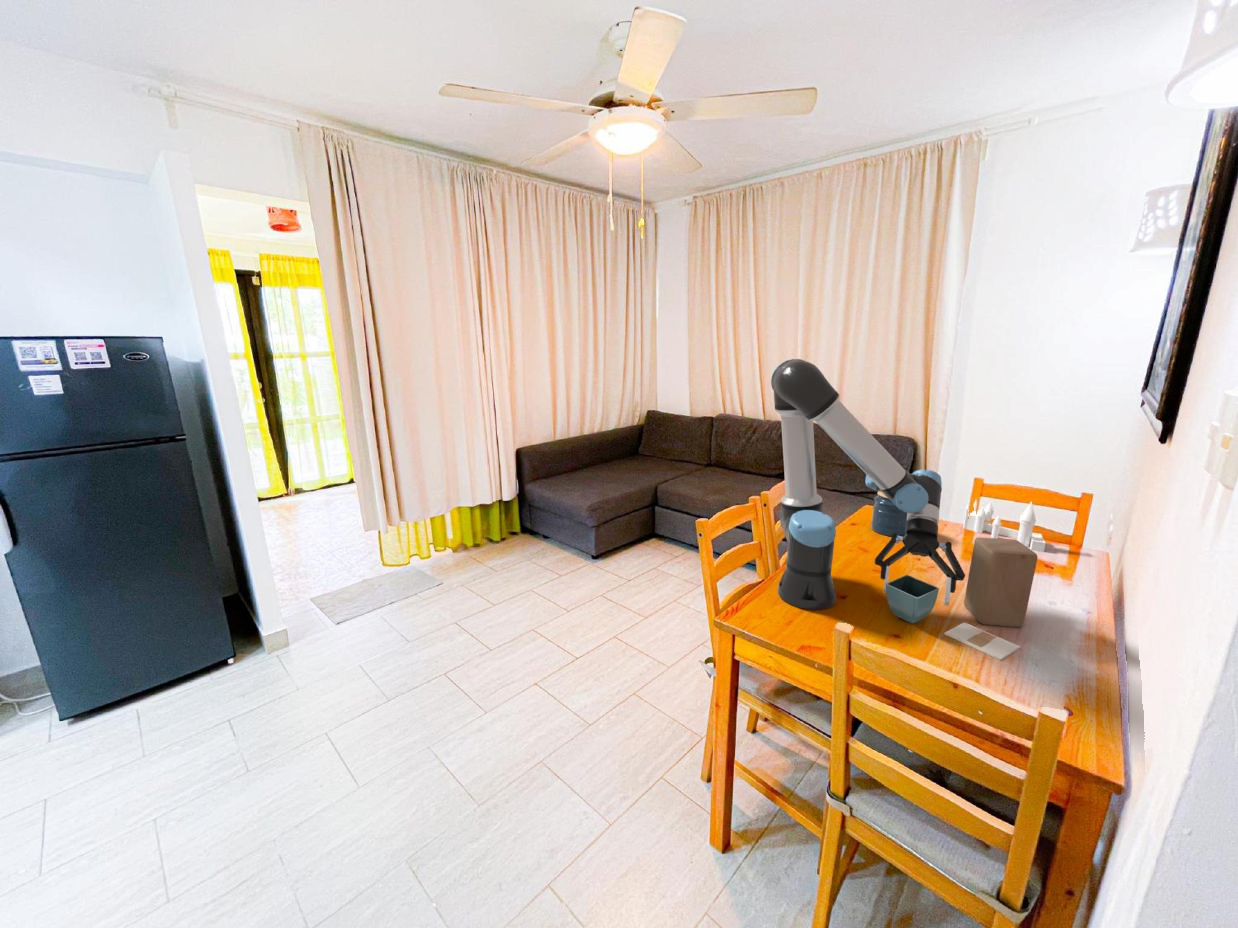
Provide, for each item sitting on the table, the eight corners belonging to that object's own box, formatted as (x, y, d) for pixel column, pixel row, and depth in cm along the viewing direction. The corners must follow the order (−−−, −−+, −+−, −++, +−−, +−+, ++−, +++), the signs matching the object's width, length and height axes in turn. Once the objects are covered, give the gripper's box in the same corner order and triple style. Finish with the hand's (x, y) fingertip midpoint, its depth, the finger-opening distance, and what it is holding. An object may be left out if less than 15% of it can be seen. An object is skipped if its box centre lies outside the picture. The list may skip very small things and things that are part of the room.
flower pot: (881, 613, 132) (884, 583, 130) (903, 603, 136) (907, 573, 133) (913, 630, 125) (917, 598, 122) (936, 619, 128) (940, 588, 126)
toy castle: (1042, 553, 168) (1052, 507, 164) (957, 531, 187) (964, 489, 183) (1054, 542, 176) (1063, 498, 172) (971, 522, 195) (978, 482, 191)
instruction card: (944, 634, 123) (944, 632, 123) (963, 623, 127) (964, 621, 127) (1000, 660, 113) (1000, 658, 113) (1019, 647, 117) (1020, 645, 117)
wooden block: (1024, 629, 124) (1040, 554, 120) (979, 625, 126) (993, 551, 122) (1003, 608, 134) (1017, 538, 129) (961, 605, 136) (973, 535, 131)
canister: (879, 522, 197) (885, 478, 192) (915, 531, 187) (922, 485, 183) (864, 530, 189) (869, 485, 184) (901, 540, 179) (907, 492, 175)
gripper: (974, 537, 135) (971, 613, 126) (870, 521, 146) (861, 590, 137) (980, 524, 129) (977, 604, 120) (871, 509, 141) (861, 581, 132)
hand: (915, 597), depth 129 cm, fingers open, 13 cm apart
